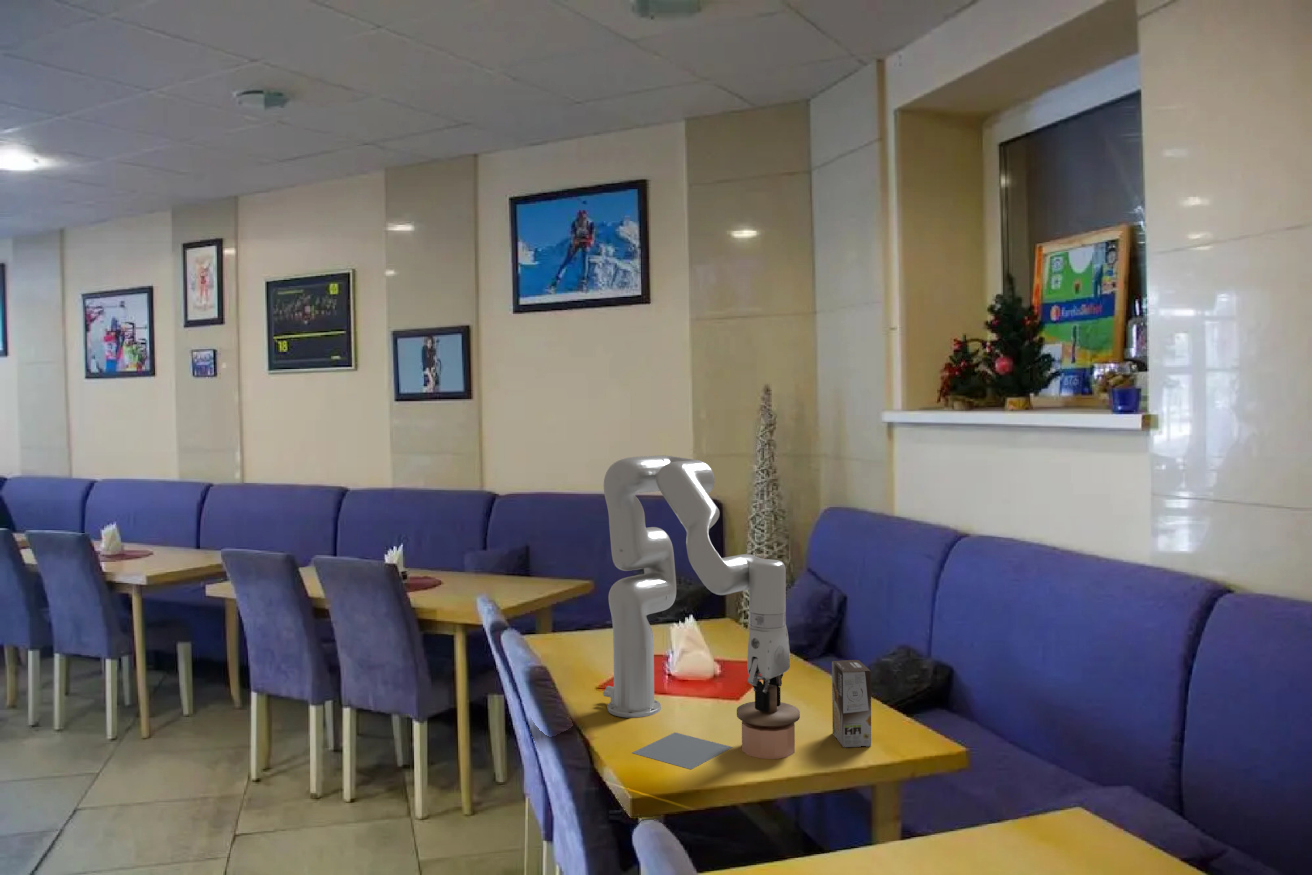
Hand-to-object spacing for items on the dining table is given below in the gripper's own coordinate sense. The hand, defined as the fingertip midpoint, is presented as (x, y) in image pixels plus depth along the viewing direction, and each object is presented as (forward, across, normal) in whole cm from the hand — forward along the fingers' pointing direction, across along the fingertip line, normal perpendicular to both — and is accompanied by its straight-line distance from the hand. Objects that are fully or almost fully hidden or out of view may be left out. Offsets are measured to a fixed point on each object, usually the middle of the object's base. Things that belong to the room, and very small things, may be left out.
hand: (767, 706), depth 195 cm
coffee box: (+9, +16, -11) cm, 22 cm away
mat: (+9, -11, +14) cm, 20 cm away
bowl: (+9, 0, 0) cm, 9 cm away
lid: (+2, 0, 0) cm, 2 cm away
